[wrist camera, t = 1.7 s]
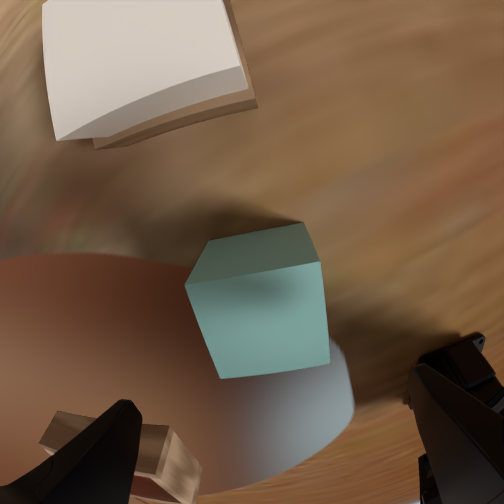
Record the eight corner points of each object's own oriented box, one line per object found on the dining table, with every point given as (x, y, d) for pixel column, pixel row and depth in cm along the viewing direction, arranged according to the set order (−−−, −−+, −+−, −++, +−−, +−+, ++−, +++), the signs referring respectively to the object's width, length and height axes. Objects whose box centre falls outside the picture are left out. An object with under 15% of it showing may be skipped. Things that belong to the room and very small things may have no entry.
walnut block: (258, 108, 13) (255, 98, 10) (129, 146, 14) (94, 150, 10) (228, -5, 10) (218, -37, 7) (109, 38, 11) (75, 21, 8)
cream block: (248, 89, 9) (240, 65, 6) (108, 137, 10) (56, 141, 7) (213, -27, 7) (196, -72, 4) (88, 25, 8) (42, 4, 5)
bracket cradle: (202, 467, 25) (195, 507, 20) (96, 452, 27) (83, 482, 22) (169, 425, 22) (155, 474, 17) (57, 410, 24) (38, 443, 19)
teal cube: (315, 304, 16) (330, 363, 12) (231, 318, 17) (220, 378, 12) (303, 222, 15) (320, 261, 10) (208, 240, 15) (184, 284, 11)
